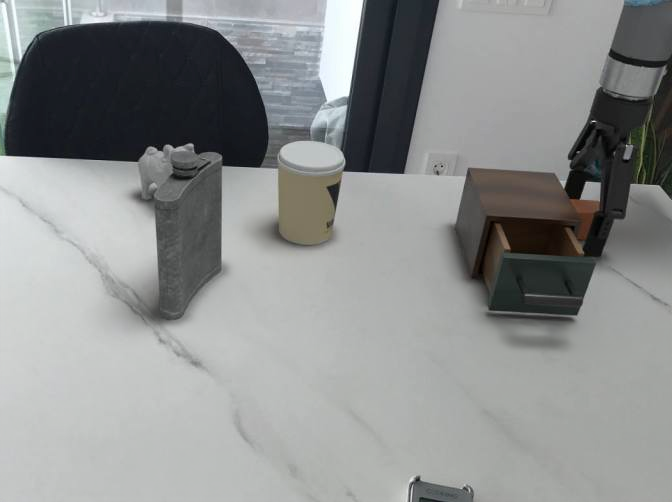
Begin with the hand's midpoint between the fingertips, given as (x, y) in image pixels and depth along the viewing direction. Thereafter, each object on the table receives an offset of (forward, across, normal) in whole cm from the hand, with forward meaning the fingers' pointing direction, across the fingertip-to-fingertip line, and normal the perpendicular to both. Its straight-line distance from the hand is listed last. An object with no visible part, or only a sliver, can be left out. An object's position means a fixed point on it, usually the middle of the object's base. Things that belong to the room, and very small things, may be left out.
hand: (578, 231), depth 118 cm
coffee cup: (+1, -5, +42) cm, 42 cm away
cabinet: (0, -8, +13) cm, 15 cm away
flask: (+1, -22, +57) cm, 61 cm away
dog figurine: (+1, +1, +62) cm, 62 cm away
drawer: (-1, -20, +13) cm, 24 cm away
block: (0, 0, 0) cm, 0 cm away
